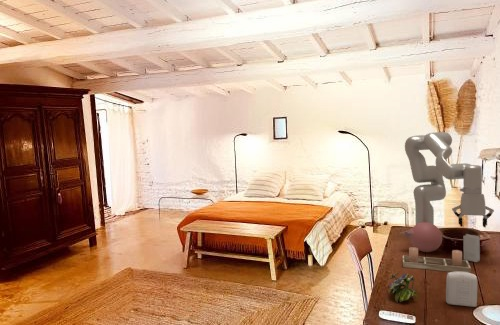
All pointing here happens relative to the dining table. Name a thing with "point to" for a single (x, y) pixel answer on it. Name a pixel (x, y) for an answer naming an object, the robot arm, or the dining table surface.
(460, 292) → the grey speaker
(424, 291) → the dining table surface
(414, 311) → the dining table surface
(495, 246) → the dining table surface
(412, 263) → the grey divided tray
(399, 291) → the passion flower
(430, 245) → the balloon
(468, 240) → the skincare box
